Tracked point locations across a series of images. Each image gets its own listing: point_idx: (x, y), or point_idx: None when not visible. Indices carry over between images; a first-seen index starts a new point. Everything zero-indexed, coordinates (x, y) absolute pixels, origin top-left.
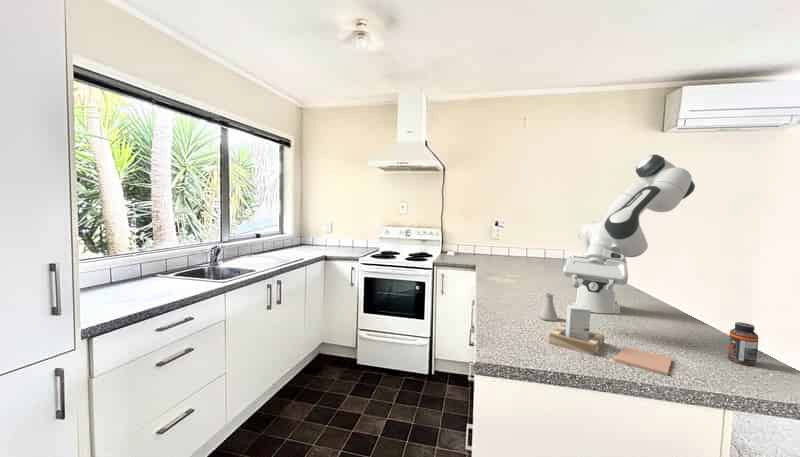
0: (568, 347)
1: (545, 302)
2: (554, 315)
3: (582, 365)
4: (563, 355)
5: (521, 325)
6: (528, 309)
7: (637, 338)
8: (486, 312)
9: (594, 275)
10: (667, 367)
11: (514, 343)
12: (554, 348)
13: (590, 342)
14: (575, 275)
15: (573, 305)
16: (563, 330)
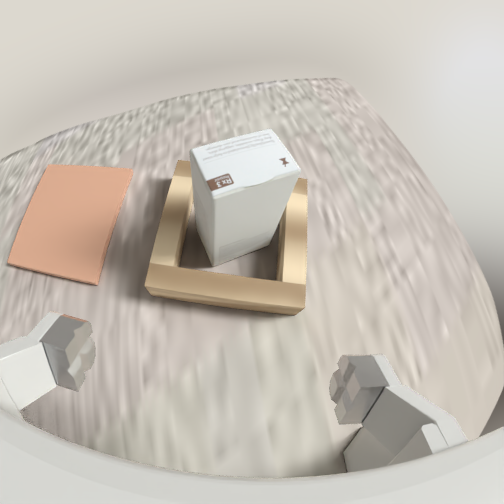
0: None
1: None
2: (364, 449)
3: (202, 120)
4: None
5: (413, 299)
6: None
7: (61, 425)
8: (500, 340)
9: (158, 470)
10: (36, 191)
11: (356, 155)
12: None
13: (187, 176)
14: (436, 440)
15: (274, 171)
16: (284, 245)
